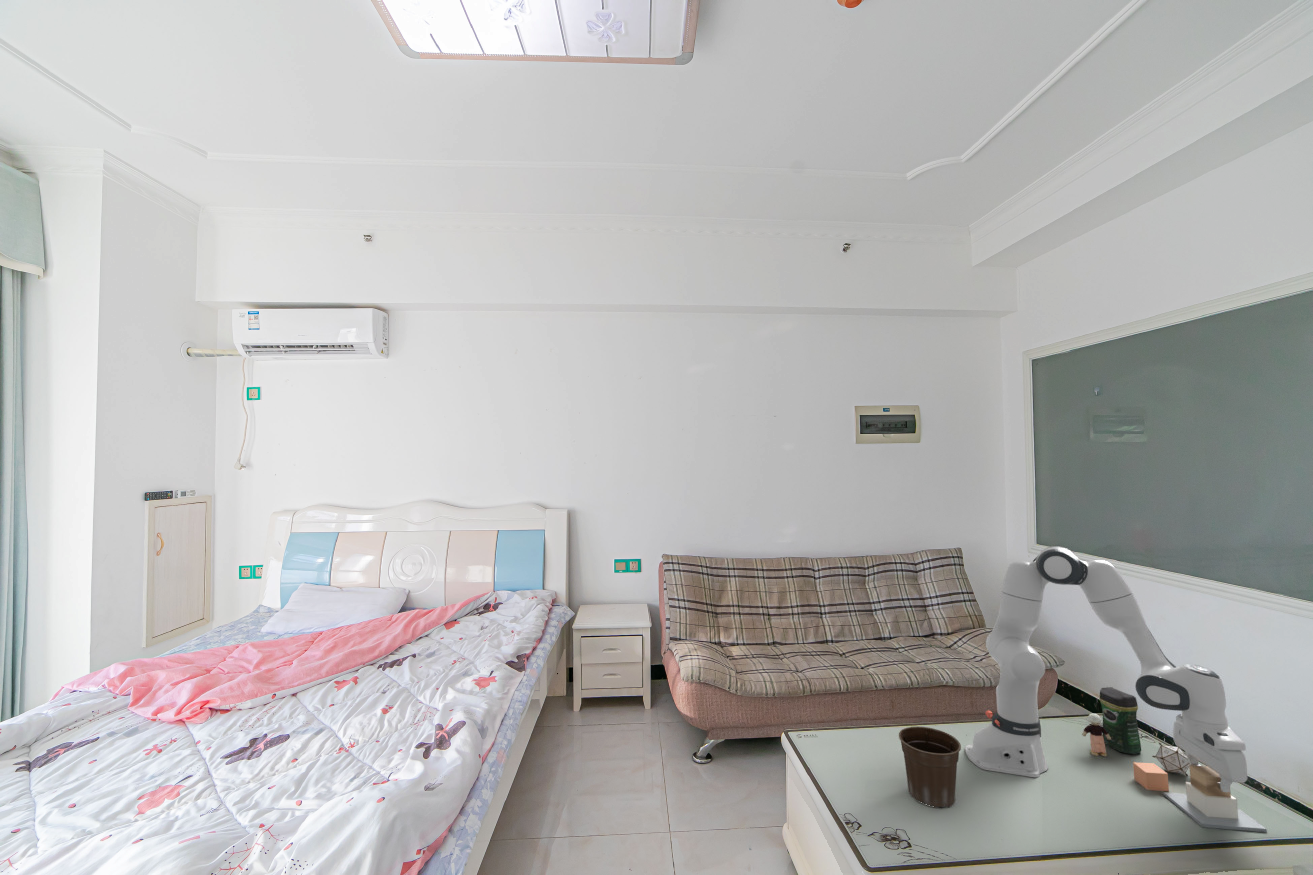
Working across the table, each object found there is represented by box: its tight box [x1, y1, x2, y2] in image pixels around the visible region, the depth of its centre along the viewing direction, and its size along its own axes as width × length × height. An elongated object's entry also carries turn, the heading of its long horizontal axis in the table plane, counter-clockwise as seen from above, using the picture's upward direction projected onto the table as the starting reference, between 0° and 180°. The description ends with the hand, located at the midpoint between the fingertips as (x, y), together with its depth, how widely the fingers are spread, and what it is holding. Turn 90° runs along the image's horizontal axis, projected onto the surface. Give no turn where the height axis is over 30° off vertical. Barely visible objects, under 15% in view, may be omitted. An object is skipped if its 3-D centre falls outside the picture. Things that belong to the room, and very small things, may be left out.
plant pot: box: [898, 726, 962, 809], centre depth 159 cm, size 16×16×16 cm
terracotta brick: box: [1132, 762, 1170, 792], centre depth 161 cm, size 6×6×5 cm
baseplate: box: [1162, 781, 1268, 833], centre depth 148 cm, size 14×14×6 cm
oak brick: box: [1188, 765, 1231, 797], centre depth 148 cm, size 6×6×5 cm
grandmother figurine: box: [1081, 712, 1111, 757], centre depth 178 cm, size 8×4×13 cm, turn 84°
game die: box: [1151, 742, 1190, 777], centre depth 167 cm, size 9×8×10 cm
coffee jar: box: [1099, 686, 1142, 755], centre depth 182 cm, size 10×8×19 cm
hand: (1209, 780), depth 148 cm, fingers open, 8 cm apart
